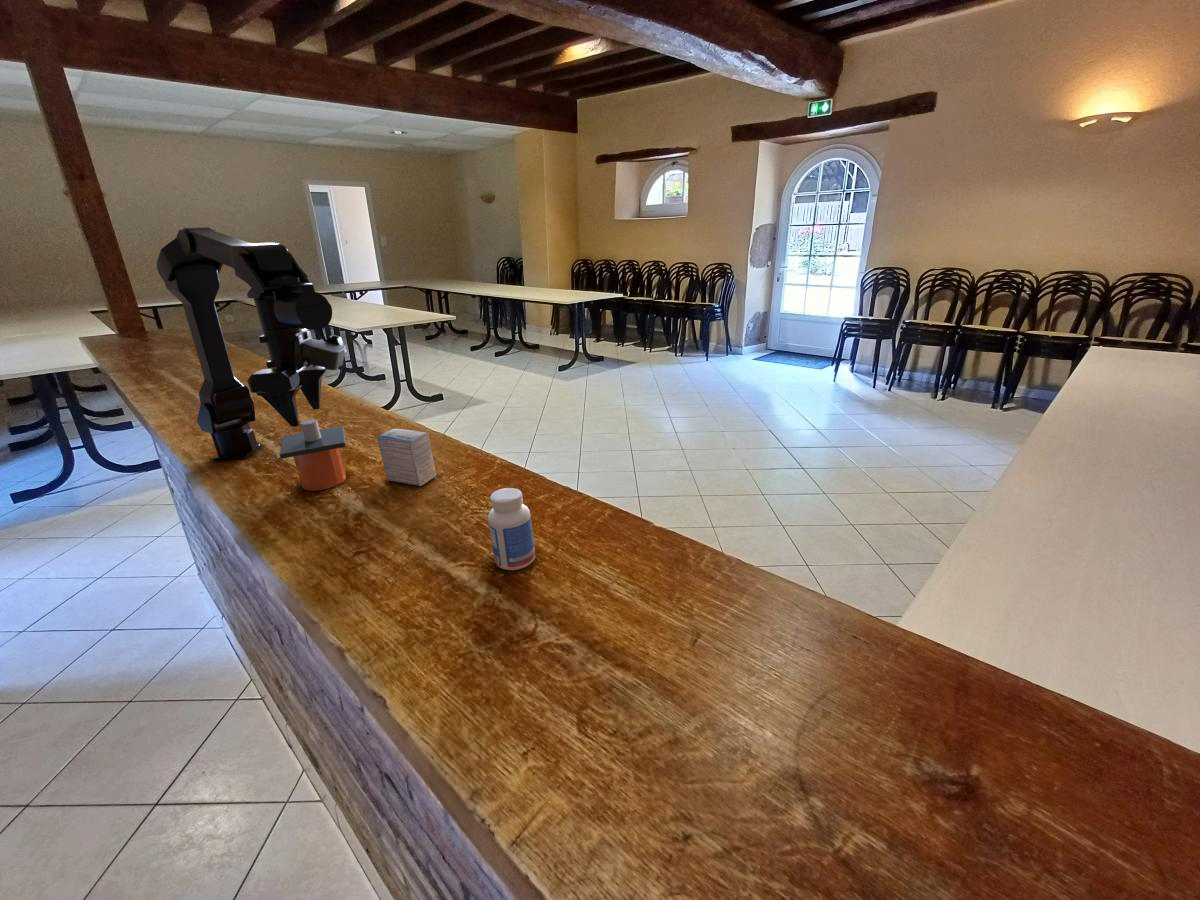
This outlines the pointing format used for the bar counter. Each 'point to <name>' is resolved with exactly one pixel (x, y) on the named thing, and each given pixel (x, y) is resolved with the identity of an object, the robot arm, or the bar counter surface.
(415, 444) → the stack of paper cards
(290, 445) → the grey lid with knob
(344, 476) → the cup
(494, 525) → the pill bottle
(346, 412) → the bar counter surface
